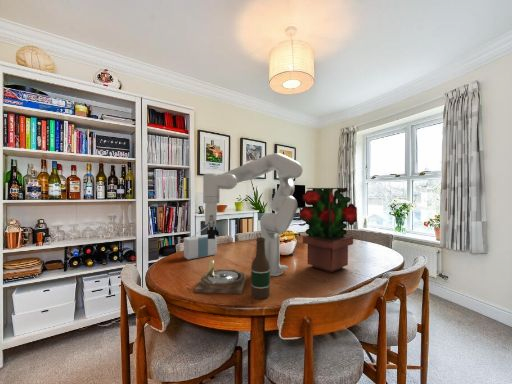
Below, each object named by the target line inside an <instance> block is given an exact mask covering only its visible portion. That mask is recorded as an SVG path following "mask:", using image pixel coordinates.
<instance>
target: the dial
mask: <svg viewBox="0 0 512 384" xmlns="http://www.w3.org/2000/svg"><path fill="white" fill-rule="evenodd" d="M214 270H215V260H214V259H210V260H208V272H209V275H208V281H210V282H216V283H229V282H232V281H235V280H238V274H237V273H235V272H232V271H218V272H214Z"/></svg>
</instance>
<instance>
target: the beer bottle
mask: <svg viewBox="0 0 512 384" xmlns="http://www.w3.org/2000/svg"><path fill="white" fill-rule="evenodd" d="M255 242H256V249H255V257H254V259H253V261H252V263H251V267H250V271H251V272H250V273H251V275H250V277H251V278H250V281H251V282H250V284H251V285H250V289H251V290H250V292H251V297H252V298H254V299H255V300H256V299H258V300H265V299H268V297H269V296H270V293H271V276H270V264H269V262H268V260H267V258H266V255H265V238H262V236H261V237H257V238H256V239H255Z"/></svg>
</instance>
